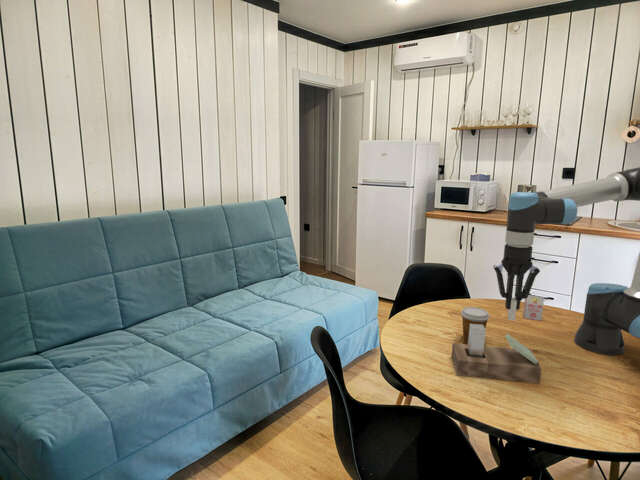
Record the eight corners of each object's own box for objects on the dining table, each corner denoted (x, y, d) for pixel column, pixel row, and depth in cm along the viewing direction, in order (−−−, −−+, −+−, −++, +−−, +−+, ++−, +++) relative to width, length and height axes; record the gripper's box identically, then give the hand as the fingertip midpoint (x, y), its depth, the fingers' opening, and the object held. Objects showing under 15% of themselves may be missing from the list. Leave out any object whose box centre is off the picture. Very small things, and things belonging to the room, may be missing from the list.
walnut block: (527, 364, 136) (529, 350, 135) (539, 383, 124) (541, 368, 123) (451, 356, 140) (452, 342, 139) (456, 375, 128) (458, 360, 127)
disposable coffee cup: (488, 349, 145) (492, 317, 143) (460, 346, 147) (463, 314, 145) (483, 338, 155) (487, 307, 152) (457, 335, 156) (460, 305, 154)
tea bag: (522, 315, 177) (525, 293, 175) (540, 318, 174) (543, 295, 172) (523, 318, 174) (525, 295, 172) (541, 321, 171) (544, 298, 169)
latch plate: (529, 353, 133) (531, 351, 133) (537, 365, 125) (539, 363, 125) (504, 335, 133) (506, 333, 133) (511, 347, 126) (513, 344, 125)
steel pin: (478, 364, 135) (483, 324, 132) (481, 371, 131) (485, 329, 128) (465, 363, 135) (469, 323, 132) (467, 369, 132) (472, 328, 129)
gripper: (538, 242, 125) (530, 315, 130) (492, 241, 128) (486, 312, 133) (546, 248, 118) (537, 325, 123) (498, 246, 121) (491, 322, 126)
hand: (511, 318), depth 128 cm, fingers closed
